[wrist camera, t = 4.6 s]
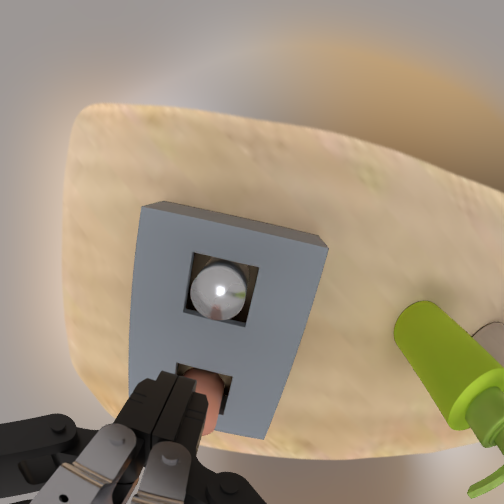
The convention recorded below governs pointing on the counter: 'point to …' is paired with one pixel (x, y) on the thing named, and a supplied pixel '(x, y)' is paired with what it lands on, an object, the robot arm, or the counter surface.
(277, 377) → the plug board
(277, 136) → the counter surface
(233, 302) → the steel plug
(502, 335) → the robot arm
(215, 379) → the terracotta plug
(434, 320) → the soap dispenser
